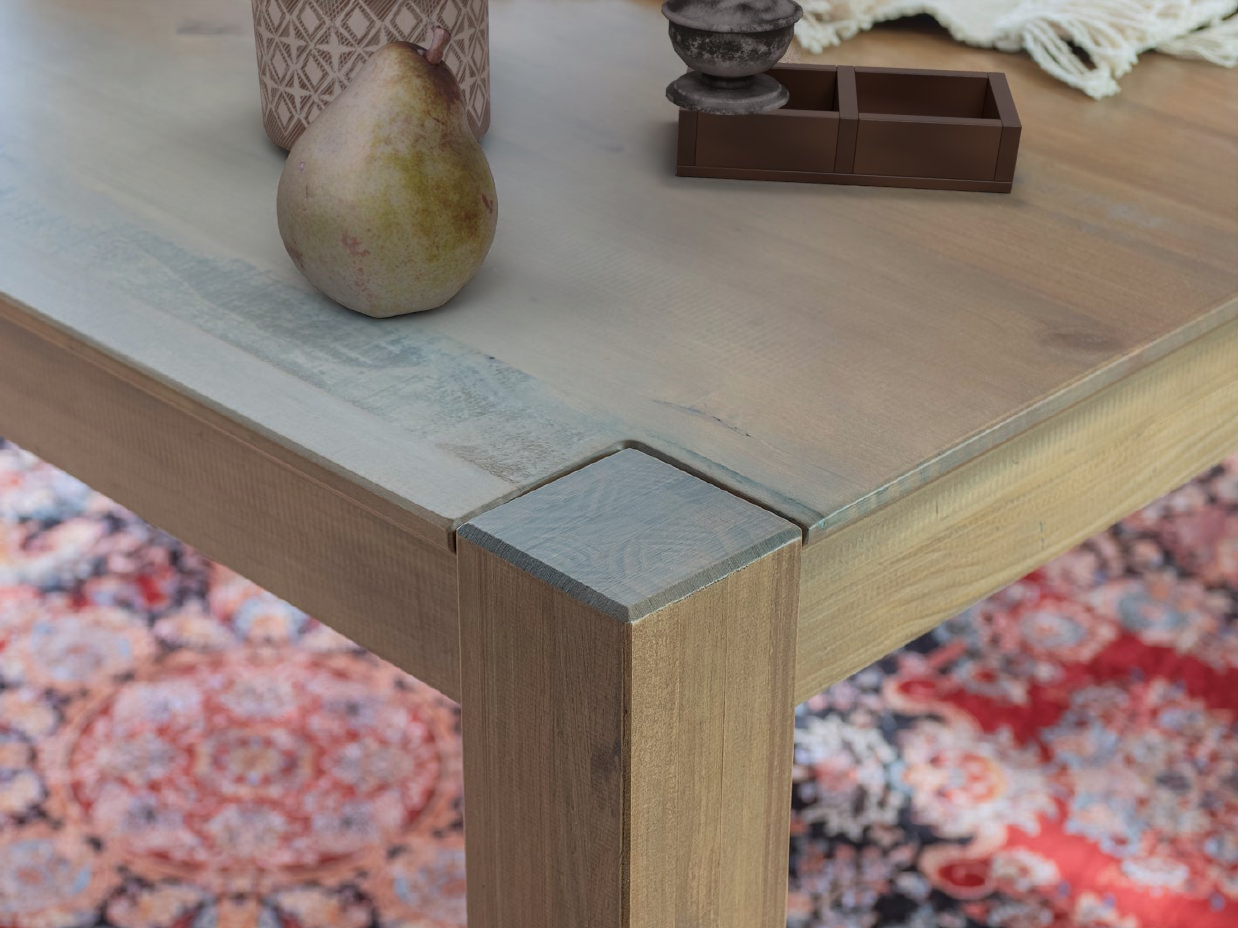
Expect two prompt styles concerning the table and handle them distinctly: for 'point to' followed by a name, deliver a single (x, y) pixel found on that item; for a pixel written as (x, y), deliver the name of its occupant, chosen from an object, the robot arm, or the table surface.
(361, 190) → the fruit
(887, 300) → the table surface
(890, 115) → the rack
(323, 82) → the planter
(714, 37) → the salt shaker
